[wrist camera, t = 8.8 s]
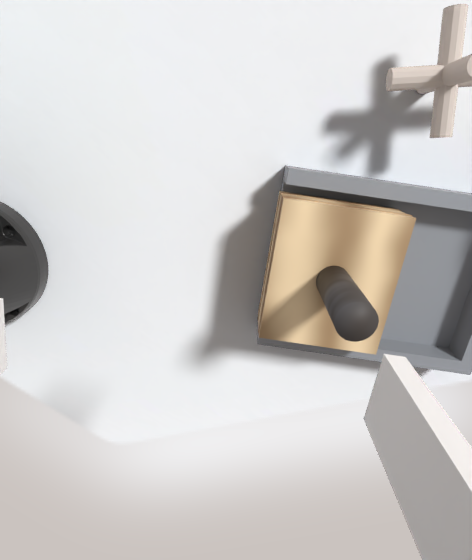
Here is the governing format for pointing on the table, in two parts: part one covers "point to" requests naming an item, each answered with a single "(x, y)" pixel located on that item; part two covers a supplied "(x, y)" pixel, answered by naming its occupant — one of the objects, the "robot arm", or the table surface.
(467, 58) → the pipe connector
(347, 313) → the wooden block with peg
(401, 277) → the bay
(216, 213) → the table surface
